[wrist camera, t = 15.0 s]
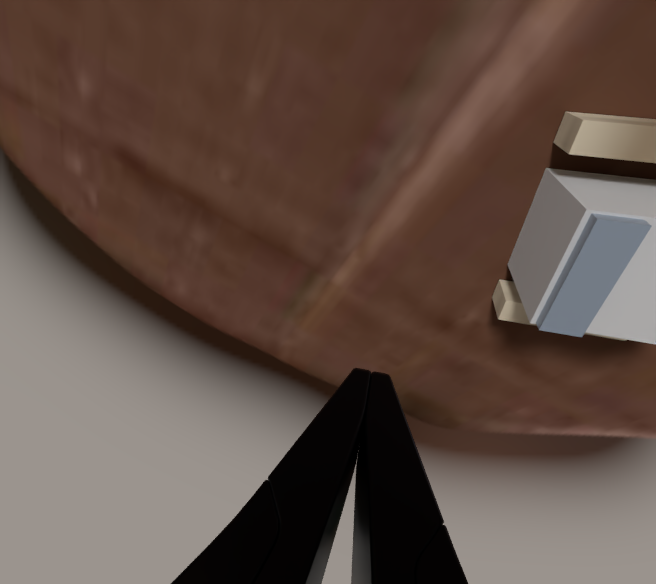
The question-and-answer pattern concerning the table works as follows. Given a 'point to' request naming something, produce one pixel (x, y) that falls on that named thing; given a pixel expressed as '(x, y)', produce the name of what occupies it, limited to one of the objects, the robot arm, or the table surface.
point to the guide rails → (595, 141)
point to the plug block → (589, 256)
